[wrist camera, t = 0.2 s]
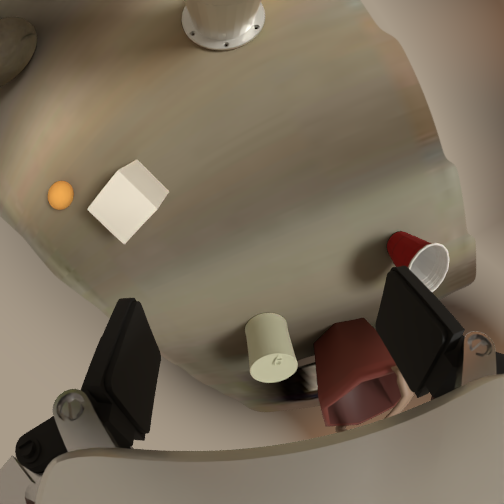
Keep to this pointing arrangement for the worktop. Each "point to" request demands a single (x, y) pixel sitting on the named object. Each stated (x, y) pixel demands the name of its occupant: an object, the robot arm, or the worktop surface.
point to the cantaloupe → (15, 46)
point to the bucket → (357, 375)
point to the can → (270, 348)
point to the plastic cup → (420, 258)
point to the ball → (60, 195)
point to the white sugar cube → (128, 200)
